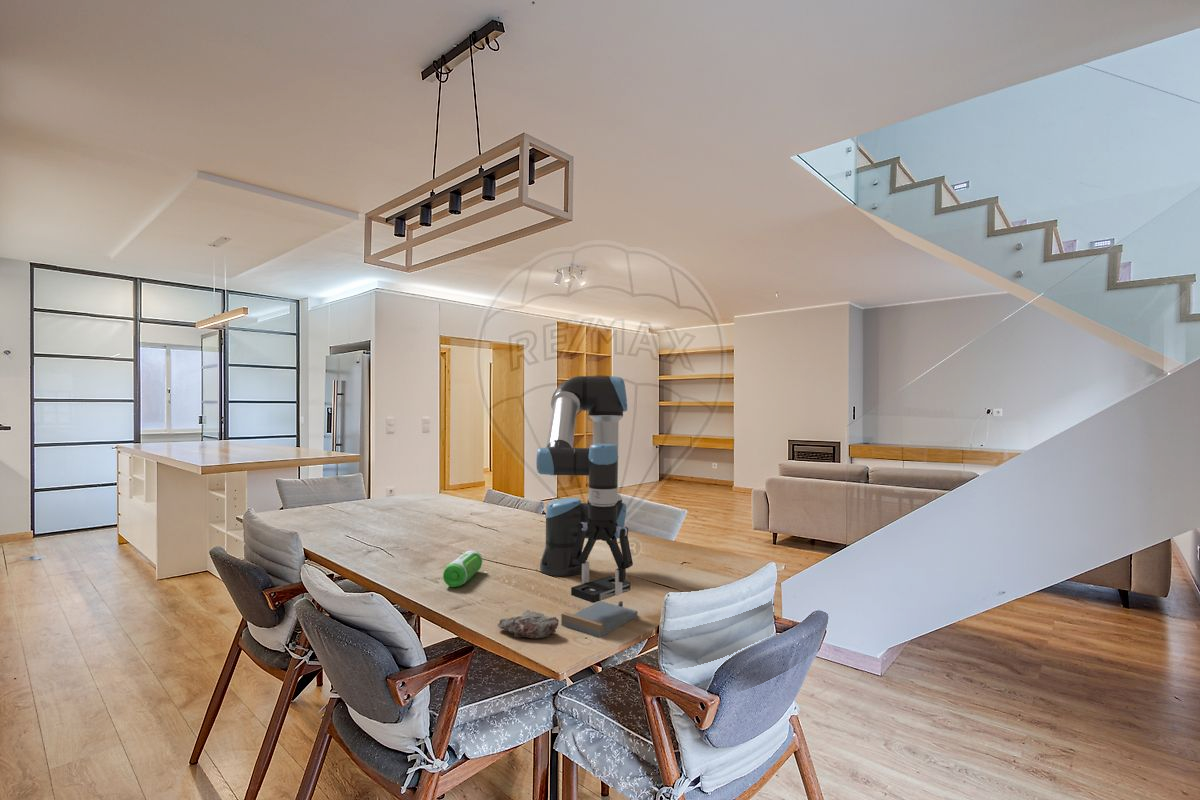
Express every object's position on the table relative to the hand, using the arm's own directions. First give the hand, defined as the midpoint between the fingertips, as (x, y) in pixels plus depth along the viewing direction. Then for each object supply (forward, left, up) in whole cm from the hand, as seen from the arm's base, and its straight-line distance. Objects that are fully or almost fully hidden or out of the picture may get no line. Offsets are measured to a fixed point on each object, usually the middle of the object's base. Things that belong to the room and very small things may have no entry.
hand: (601, 590), depth 146 cm
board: (0, -1, -7) cm, 7 cm away
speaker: (-48, +22, -8) cm, 54 cm away
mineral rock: (-16, -12, -8) cm, 22 cm away
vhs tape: (0, 0, -1) cm, 1 cm away
